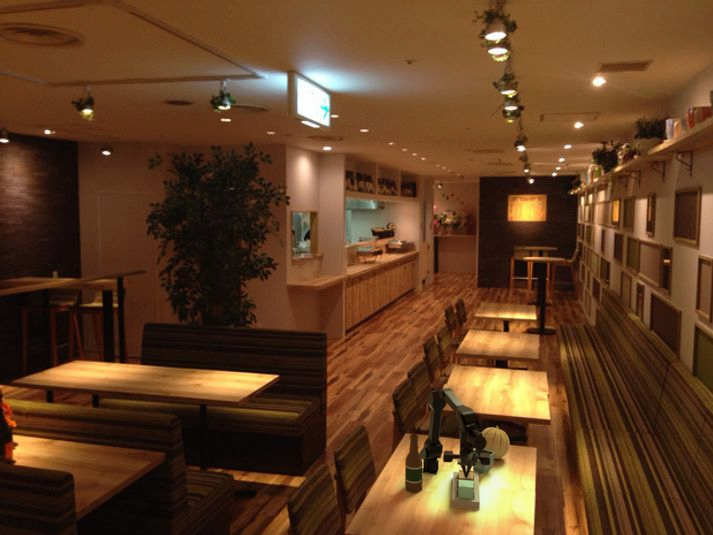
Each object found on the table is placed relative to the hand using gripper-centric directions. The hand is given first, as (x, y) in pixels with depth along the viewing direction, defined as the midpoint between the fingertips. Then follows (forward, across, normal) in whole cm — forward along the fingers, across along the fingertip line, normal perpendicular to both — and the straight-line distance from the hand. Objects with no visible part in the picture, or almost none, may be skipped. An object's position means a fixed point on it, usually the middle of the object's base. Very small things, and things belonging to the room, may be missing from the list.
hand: (466, 477), depth 258 cm
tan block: (+8, 0, +8) cm, 11 cm away
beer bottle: (+11, -22, +8) cm, 26 cm away
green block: (+8, 0, 0) cm, 8 cm away
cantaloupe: (+11, +13, +46) cm, 49 cm away
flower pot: (+11, +7, +30) cm, 33 cm away
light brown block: (+8, 0, +16) cm, 18 cm away
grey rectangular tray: (+11, 0, +8) cm, 13 cm away
